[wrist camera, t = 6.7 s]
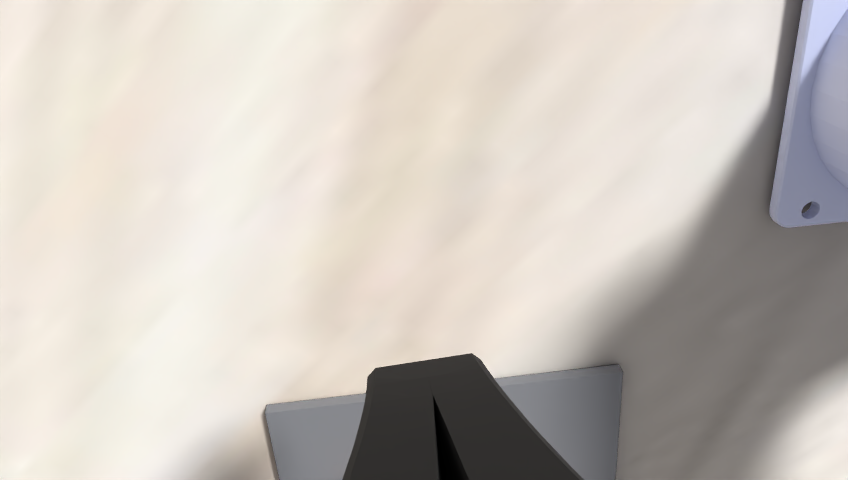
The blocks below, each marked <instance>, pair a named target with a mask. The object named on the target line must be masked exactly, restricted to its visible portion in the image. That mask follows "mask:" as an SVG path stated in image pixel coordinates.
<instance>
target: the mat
mask: <svg viewBox="0 0 848 480" xmlns="http://www.w3.org/2000/svg"><path fill="white" fill-rule="evenodd" d="M622 379H623V371H622V369H621V368H620V366H619V364H617V365H608V366H600V367H591V368H582V369H574V370H565V371H556V372H548V373H539V374H530V375H521V376H513V377H504V378H495V380H496V382H497V383H498V384H499V386H500V387H501V388H502V389H503V391H504V392H505V393H506V394H507V396H508V397H509V398H510V399H511V401H512V402H513V403H514V404H515V405H516V407H517V408H518V409H519V410H520V411H521V412H522V414H523V415H524V416H525V417H526V418H527V420H528V421H529V422H530V423H531V424H532V425H533V426H534V427H535V429H536V430H537V431H538V432H539V433H540V434H541V435H542V436H543V437H544V438H545V439H546V441H547V442H548V443H549V444H550V445H551V446H552V447H553V448H554V449H555V450H556V451H557V452H558V453H559V454H560V455H561V456H562V457H563V458H564V460H565V461H566V462H567V463H568V464H569V465H570V466H571V467H572V468H573V469H574V470H575V471H576V472H577V473H578V474H579V475H580V476H581V477H582V478H583V479H584V480H616V466H617V452H618V437H619V423H620V408H621V393H622ZM365 397H366V393H365V394H356V395H348V396H339V397H330V398H321V399H313V400H304V401H295V402H287V403H278V404H269V405H267V406H266V411H265V415H266V420H267V424H268V429H269V433H270V438H271V443H272V447H273V452H274V457H275V461H276V466H277V471H278V475H279V480H342V479H343V476H344V473H345V470H346V467H347V464H348V461H349V458H350V455H351V452H352V449H353V446H354V442H355V439H356V435H357V431H358V428H359V424H360V420H361V416H362V412H363V407H364V403H365Z"/></svg>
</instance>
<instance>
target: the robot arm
mask: <svg viewBox="0 0 848 480" xmlns="http://www.w3.org/2000/svg"><path fill="white" fill-rule="evenodd" d="M810 202H812V204H811V207H810V209H808V210H807V211H806V212H804V213H802V209H803V207H804V206H805V205H806V204H807V203H810ZM769 210H770V216H771V218H772V220H773V221H775V222H776V223H777V224H779V225H780V226H782V227H787V228H791V227H801V226H810V225H820V224H829V223H839V222H848V0H803V4H802V11H801V17H800V23H799V29H798V35H797V42H796V48H795V54H794V60H793V66H792V73H791V79H790V85H789V91H788V97H787V103H786V110H785V116H784V122H783V128H782V134H781V141H780V147H779V153H778V159H777V165H776V172H775V178H774V184H773V190H772V196H771V203H770V209H769ZM342 480H584V479H583V478H582V477H581V476H580V475H579V474H578V473H577V472H576V471H575V470H574V469H573V468H572V467H571V466H570V465H569V464H568V463H567V462H566V461H565V460H564V458H563V457H562V456H561V455H560V454H559V453H558V452H557V451H556V450H555V449H554V448H553V447H552V446H551V445H550V444H549V443H548V442H547V441H546V439H545V438H544V437H543V436H542V435H541V434H540V433H539V432H538V431H537V430H536V429H535V427H534V426H533V425H532V424H531V423H530V422H529V421H528V420H527V418H526V417H525V416H524V415H523V414H522V412H521V411H520V410H519V409H518V408H517V407H516V405H515V404H514V403H513V402H512V401H511V399H510V398H509V397H508V396H507V394H506V393H505V392H504V391H503V389H502V388H501V387H500V386H499V384H498V383H497V382H496V380H495V379H494V378H493V376H492V375H491V374H490V372H489V371H488V370H487V368H486V367H485V365H484V364H483V362H482V361H481V360H480V359H479V358H478V357H476V356H475V355H473V354H472V353H471V354H464V355H458V356H451V357H445V358H438V359H432V360H425V361H419V362H412V363H406V364H399V365H393V366H386V367H379V368H375V369H374V370H373V372H372V373H371V374H370V375H369V376H368V379H367V391H366V397H365V403H364V407H363V412H362V416H361V420H360V424H359V428H358V431H357V435H356V439H355V442H354V446H353V449H352V452H351V455H350V458H349V461H348V464H347V467H346V470H345V473H344V476H343V479H342Z"/></svg>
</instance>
